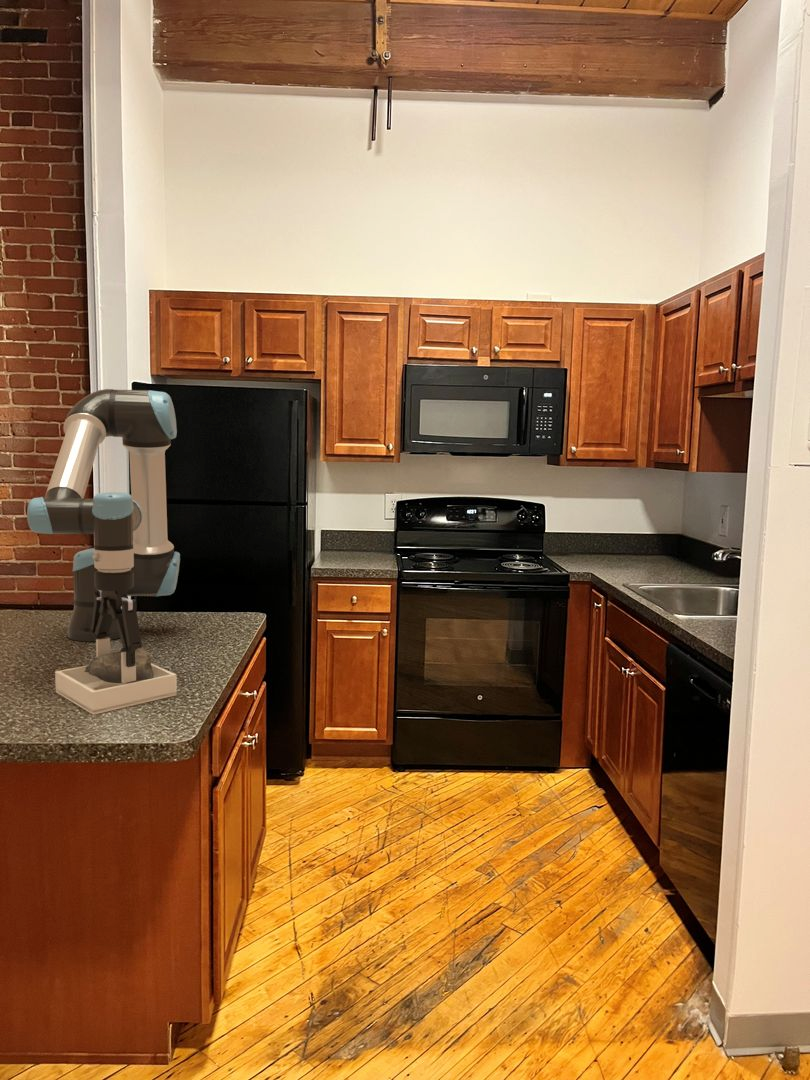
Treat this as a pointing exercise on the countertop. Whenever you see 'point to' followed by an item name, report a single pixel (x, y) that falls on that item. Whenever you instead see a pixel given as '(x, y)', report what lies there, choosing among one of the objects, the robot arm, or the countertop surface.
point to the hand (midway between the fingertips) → (115, 674)
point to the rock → (111, 667)
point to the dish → (112, 689)
